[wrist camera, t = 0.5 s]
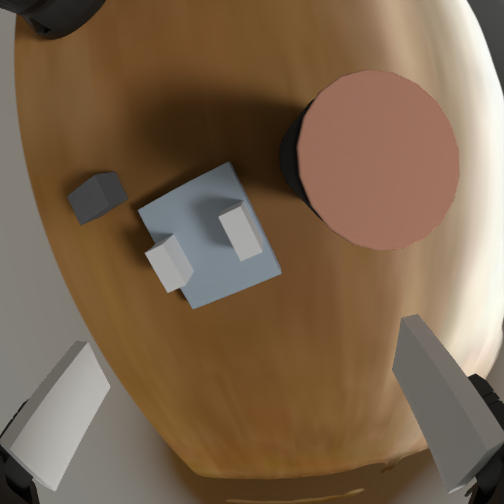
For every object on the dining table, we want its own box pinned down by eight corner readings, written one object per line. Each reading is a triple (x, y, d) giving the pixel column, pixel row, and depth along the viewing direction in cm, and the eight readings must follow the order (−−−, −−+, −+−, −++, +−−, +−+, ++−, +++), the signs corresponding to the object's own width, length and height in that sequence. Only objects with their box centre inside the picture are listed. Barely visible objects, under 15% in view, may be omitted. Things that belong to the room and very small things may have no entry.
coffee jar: (379, 138, 30) (477, 129, 13) (346, 217, 33) (420, 275, 16) (298, 99, 29) (335, 37, 12) (264, 182, 32) (265, 208, 15)
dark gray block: (88, 190, 33) (67, 196, 28) (115, 171, 32) (94, 174, 27) (101, 216, 34) (80, 225, 29) (128, 198, 33) (109, 205, 28)
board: (144, 207, 33) (122, 217, 28) (230, 161, 31) (223, 162, 26) (196, 302, 37) (185, 326, 31) (280, 267, 35) (283, 288, 29)
